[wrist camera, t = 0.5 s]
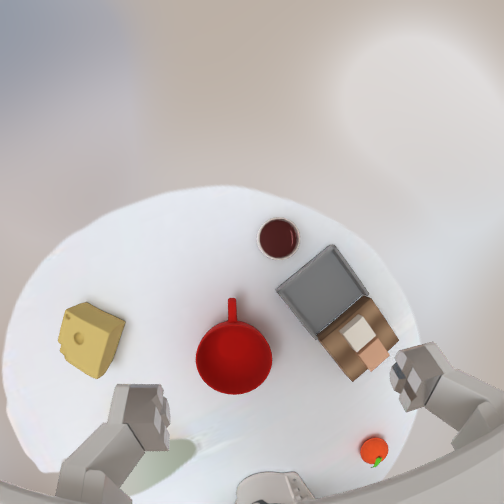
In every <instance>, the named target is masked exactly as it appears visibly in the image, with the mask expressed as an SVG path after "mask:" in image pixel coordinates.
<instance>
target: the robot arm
mask: <svg viewBox="0 0 504 504" xmlns="http://www.w3.org/2000/svg"><path fill="white" fill-rule="evenodd" d="M395 360H396V363H395V364H394V365H393V366H392V367H391V371H390V382H391V385H392V387H393V389H394V391H396V392H398V393H400V396H399V401H400V402H401V404H402V406H403V408H404V410H405V412H409V411H412V410H415V409H418V408H421V407H424V406H425V408H426V409H427V410H429V411H430V412H432V413H433V414H434V415H436V416H437V417H439V418H440V419H442V420H443V421H444V422H446V423H447V424H448V425H450V426H451V427H453V428H454V429H456V430H457V431H458V434H457V435H456V436H455V437H454V439H453V440H452V442H451V444H452V446H453V448H454V449H455V451H453V452H451V453H449V454H447V455H445V456H443V457H441V458H438V459H436V460H434V461H432V462H429V463H427V464H425V465H422V466H420V467H417V468H415V469H413V470H410V471H407V472H405V473H402V474H400V475H397V476H394V477H391V478H388V479H385V480H383V481H380V482H377V483H373V484H370V485H367V486H364V487H360V488H357V489H353V490H350V491H346V492H342V493H339V494H335V495H330V496H326V497H322V498H317V499H315V498H314V496H313V495H312V493H311V492H310V491H309V489H308V488H307V487H306V485H305V484H304V482H303V481H302V480H301V478H300V477H299V475H298V474H297V473H296V472H288V473H276V472H263V473H258V474H254V475H252V476H249V477H247V478H246V479H244V480H243V481H242V482H241V483H240V484H239V485H238V487H237V491H236V494H237V500H236V502H235V504H504V391H502V390H500V389H498V388H496V387H494V386H492V385H490V384H488V383H485V382H484V381H482V380H480V379H478V378H475V377H473V376H471V375H469V374H467V373H465V372H463V371H461V370H459V369H457V370H455V369H454V368H453V366H452V365H451V363H450V362H449V361H448V359H447V358H446V356H445V355H444V354H443V353H442V351H441V350H440V348H439V347H438V346H437V345H436V343H434V342H429V343H426V344H422V345H418V346H414V347H411V348H407V349H404V350H400V351H398V352H397V353H396V356H395ZM163 392H164V390H163V388H162V386H161V385H160V384H117V385H116V387H115V389H114V394H113V398H112V402H111V407H110V412H109V416H108V421H107V423H102V424H101V425H100V426H99V427H98V428H97V429H96V430H95V431H94V432H93V433H92V434H91V435H90V436H89V437H88V438H87V439H86V440H85V441H84V442H83V443H82V444H81V445H80V446H79V447H78V448H77V449H76V450H75V451H74V452H73V453H72V454H71V455H70V456H69V457H68V458H67V459H66V460H65V461H64V462H63V463H62V466H61V470H60V475H59V479H58V485H57V489H56V495H55V496H52V495H48V494H44V493H41V492H36V491H34V490H30V489H27V488H23V487H20V486H17V485H14V484H12V483H9V482H5V481H3V480H0V504H132V499H131V498H130V497H129V496H128V495H127V494H125V493H124V492H123V491H122V490H121V489H120V487H121V485H122V484H123V482H124V481H125V480H126V478H127V477H128V476H129V474H130V473H131V472H132V470H133V469H134V467H135V466H136V465H137V463H138V462H139V460H140V459H141V458H142V456H143V455H144V453H145V451H169V437H170V435H169V432H168V430H167V427H168V426H169V425H170V408H169V404H168V401H167V399H166V398H165V397H163Z"/></svg>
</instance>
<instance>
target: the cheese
mask: <svg viewBox="0 0 504 504" xmlns="http://www.w3.org/2000/svg"><path fill="white" fill-rule="evenodd" d="M124 325H125V321H123V320H121V319H119V318H117V317H115V316H113V315H110V314H108V313H106V312H104V311H102V310H100V309H98V308H96V307H94V306H92V305H91V304H89V303H87V302H86V303H81V304H78V305H76V306H73V307H71V308H68V309H67V310H65V313H64V317H63V321H62V325H61V329H60V333H59V338H58V342H59V343H60V344H61V348H60V352H61V353H62V354H63V355H64V356H65V359H66V361H68V362H69V363H70V364H72V365H73V366H75V367H76V368H78V369H79V370H81V371H82V372H84V373H85V374H87V375H89V376H91V377H93V378H95V379H98V378H100V377H101V376H103V375H104V374H105V372H106V371H107V369H108V367H109V365H110V363H111V362H112V360H113V357H114V355H115V352H116V349H117V346H118V343H119V340H120V337H121V333H122V330H123V328H124Z"/></svg>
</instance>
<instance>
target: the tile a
mask: <svg viewBox="0 0 504 504" xmlns="http://www.w3.org/2000/svg"><path fill="white" fill-rule="evenodd" d="M339 332H340V333H341V335H342V336H343V337H344V339H345V340H346V341H347V343H348V344H349V345H350V347H351V348H352V349H353V350H354V351H356V352H358V351H359V350H360V349H361V348H362V347H364V346H365V345H366V344H367V343H368V342H369V341H370V340H372V339H373V338H374V337H375V336H376V334H375V333H374V331H373V330H372V329H371V327H370V326H369V324H368V323H367V321H366V320H365V319H364V317H363V316H361V315H359V314H358V315H357V316H356V317H354V318H353V319H352V320H351V321H350V322H349V323H347V324H346V325H345V326H344V327H343V328H342V329H340V330H339Z"/></svg>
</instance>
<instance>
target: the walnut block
mask: <svg viewBox="0 0 504 504" xmlns="http://www.w3.org/2000/svg"><path fill="white" fill-rule="evenodd" d="M358 314H359V315H361V316H363V317H364V319H365V320H366V321H367V323H368V324H369V326H370V327H371V329H372V330H373V331H374V333H375V334H376V336H375V337H377V338H378V339H379V340H380V342H381V343H382V345H383V346H384V347H385V349H386V350H387V351H388V350H390V349H391V348H392V347H393V346H394V345H395V344H396V343H397V342H398V341H399V339H398V338H397V336H396V335H395V333H394V332H393V330H392V329H391V327H390V326H389V324H388V323H387V321H386V320H385V318H384V317H383V315H382V314H381V312H380V311H379V309H378V308H377V306H376V305H375V303H374V302H373V300H372V299H371V298H369V297H366V296H362V297H361V298H360V299H359V300H357V301H356V302H355V303H354V304H353V305H352V306H351V307H350V308H348V309H347V310H346V311H345V312H344V313H343V314H341V315H340V316H339V317H338V318H337V319H336V320H334V321H333V322H332V323H331V324H330V325H328V326H327V327H326V328H325V329H324V330H322V331H321V332H320V333H319V334H318V335H316V336H317V337H318V340H319V342H320V343H321V344H322V345H323V347H324V348H325V349H326V350H327V352H328V353H329V354H330V355H331V357H332V358H333V359H334V360H335V362H336V363H337V364H338V366H339V367H340V368H341V369H342V371H343V372H344V373H345V374H346V376H347V377H348V378H349V379H350V380H351V381H352V382H353V381H354V380H355V379H357V378H358V377H359V376H360V375H361V374H363V373H364V372H365V371H366V370H367V368H366V367H365V365H364V364H363V363H362V361H361V360H360V359H359V357H358V356H357V355H356V353H355V352H354V350H353V349H352V348H351V347H350V345H349V344H348V343H347V341H346V340H345V339H344V337H343V336H342V335H341V333H340V332H339V330H340V329H342V328H343V327H344V326H345V325H346V324H347V323H349V322H350V321H351V320H352V319H353V318H354V317H356V316H357V315H358Z"/></svg>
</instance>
